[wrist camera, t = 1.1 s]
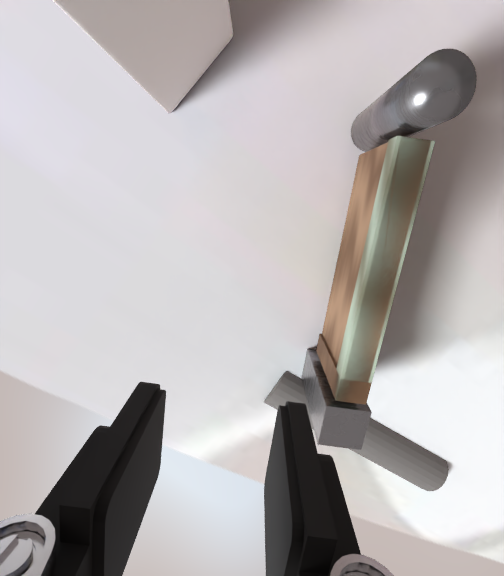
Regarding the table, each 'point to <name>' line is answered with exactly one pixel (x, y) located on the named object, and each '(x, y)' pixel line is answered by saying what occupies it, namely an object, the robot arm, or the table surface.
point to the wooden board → (371, 262)
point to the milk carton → (157, 39)
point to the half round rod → (376, 442)
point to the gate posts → (366, 136)
